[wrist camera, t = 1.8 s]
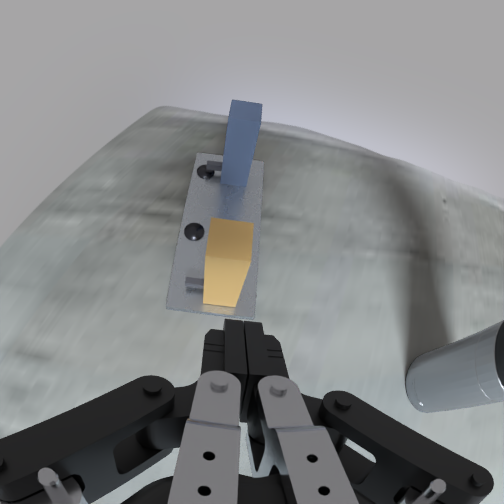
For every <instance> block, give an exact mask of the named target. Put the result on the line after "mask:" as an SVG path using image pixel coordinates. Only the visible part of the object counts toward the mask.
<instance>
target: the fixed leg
mask: <svg viewBox="0 0 504 504" xmlns="http://www.w3.org/2000/svg"><path fill="white" fill-rule="evenodd" d="M261 115H262V104H259V103H252V102H246V101H239V100H232V102H231V107H230V113H229V118H228V125H227V133H226V140H225V148H224V156H223V162H216V161H208V160H207V166H206V169H207V170H215V171H222V172H221V180H220V184H228V185H235V186H242V187H246V186H247V181H248V177H249V173H250V168H251V164H252V159H253V155H254V151H255V146H256V142H257V137H258V133H259V129H260V125H261Z"/></svg>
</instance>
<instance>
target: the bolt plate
mask: <svg viewBox="0 0 504 504" xmlns="http://www.w3.org/2000/svg"><path fill="white" fill-rule="evenodd" d="M207 160H208V161H216V162H223V155H215V154H207V153H198V152H197V156H196V160H195V164H194V168H193V173H192V177H191V181H190V186H189V190H188V195H187V199H186V204H185V208H184V213H183V218H182V222H181V227H180V232H179V237H178V242H177V247H176V253H175V258H174V263H173V269H172V274H171V280H170V286H169V291H168V297H167V303H166V308H167V309H170V310H177V311H184V312H192V313H199V314H207V315H215V316H224V317H233V318H242V319H251V320H254V318H255V304H256V288H257V272H258V256H259V239H260V223H261V206H262V189H263V171H264V161H258V160H252V164H251V168H250V173H249V177H248V181H247V186H246V187H242V186H235V185H228V184H220V180H221V172H222V171H215V170H207V169H206V166H207ZM211 217H212V218H219V219H227V220H235V221H242V222H249V223H254V228H253V242H252V256H251V263H250V266H249V269H248V272H247V275H246V278H245V281H244V284H243V287H242V289H241V292H240V295H239V298H238V301H237V304H236V307H229V306H220V305H212V304H204V303H203V292H204V289H201V288H193V287H186V286H185V279H186V277H192V278H200V279H204V271H205V255H206V248H207V241H208V234H209V228H210V221H211Z"/></svg>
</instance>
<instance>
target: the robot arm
mask: <svg viewBox="0 0 504 504" xmlns="http://www.w3.org/2000/svg"><path fill="white" fill-rule="evenodd" d="M406 390H407V395H408V397H409V400H410V402H411V403H412V405H413V406H414V407H415V408H416V409H418V410H419V411H421V412H426V413H429V412H439V411H448V410H455V409H462V408H468V407H474V406H480V405H486V404H491V403H496V402H500V401H504V320H503V321H501V322H499V323H497V324H495V325H492V326H490V327H488V328H486V329H484V330H482V331H480V332H477V333H475V334H473V335H470V336H468V337H466V338H463V339H461V340H458V341H456V342H453V343H451V344H448V345H446V346H443V347H441V348H438V349H435V350H433V351H430V352H427V353H425V354H422V355H420V356H419V357H417V358H416V359H415V360H414V361H413V363H412V364H411V366H410V368H409V370H408V373H407V378H406ZM239 419H240V422H245V423H247V425H248V430H247V434H246V444H247V450H248V455H249V461H250V466H251V472H252V477H249V476H245V475H241V474H239V454H240V433H241V428H240V426H239ZM347 439H350V440H351V441H353V442H354V443H356V444H357V445H359V446H361V447H362V448H364V449H365V450H367V451H368V452H370V453H371V454H373V455H374V457H375V459H376V463H374V462H372V461H370V460H368V459H367V458H365V457H364V456H362V455H361V454H359V453H358V452H356V451H355V450H353V449H351V448H350V447H348V446H347V445H345V443H346V441H347ZM179 447H180V450H179V454H178V459H177V463H176V467H175V472H174V476H170V477H166V478H162V479H159V480H157V481H154V482H152V483H150V484H148V485H146V486H145V487H143V488H142V489H141V490H139V491H138V492H136V493H135V494H134V495H132V496H131V497H129V498H128V499H126V500H125V501H124V502H122V503H121V504H479V503H480V502H481V501H482V500H483V499H484V498H485V497H486V496H487V495H488V494H489V493H490V492H491V491H492V489H493V486H494V481H493V478H492V475H491V474H490V473H489V471H488V470H486V469H485V468H484V467H482V466H480V465H478V464H476V463H474V462H472V461H470V460H468V459H466V458H464V457H462V456H460V455H458V454H456V453H454V452H452V451H450V450H449V449H447V448H445V447H443V446H441V445H439V444H437V443H435V442H434V441H432V440H430V439H428V438H426V437H424V436H423V435H421V434H419V433H417V432H416V431H414V430H412V429H410V428H408V427H407V426H405V425H403V424H401V423H400V422H398V421H396V420H394V419H393V418H391V417H389V416H388V415H386V414H384V413H382V412H381V411H379V410H377V409H376V408H374V407H372V406H371V405H369V404H367V403H366V402H364V401H362V400H361V399H359V398H358V397H356V396H354V395H352V394H350V393H348V392H345V391H331V392H329V393H327V394H326V395H325V396H324V398H323V400H322V399H318V398H314V397H310V396H306V395H304V394H302V393H301V392H300V390H299V388H298V386H297V385H296V383H294V382H293V381H292V380H290V379H289V376H288V372H287V368H286V364H285V360H284V356H283V352H282V349H281V345H280V342H279V341H278V340H277V339H276V338H275V337H274V336H273V335H264V332H263V326H262V323H260V322H251V321H244V322H243V321H241V320H232V319H225V321H224V328H223V330H215V329H211V330H210V331H209V332H208V333H207V334H206V335H205V340H204V349H203V358H202V368H201V375H200V377H199V379H198V380H197V381H196V382H195V383H193V384H191V385H189V386H185V387H176V388H174V386H173V385H172V384H171V382H169V381H168V380H166V379H164V378H162V377H159V376H152V375H150V376H143V377H140V378H137V379H135V380H133V381H131V382H129V383H127V384H125V385H123V386H121V387H119V388H117V389H114V390H112V391H110V392H108V393H106V394H104V395H102V396H100V397H97V398H95V399H93V400H91V401H89V402H87V403H84V404H82V405H80V406H78V407H76V408H73V409H71V410H69V411H67V412H64V413H62V414H60V415H57V416H55V417H53V418H50V419H48V420H46V421H43V422H41V423H39V424H36V425H34V426H32V427H29V428H27V429H24V430H22V431H19V432H17V433H14V434H12V435H9V436H7V437H4V438H2V439H0V504H90V503H92V502H94V501H96V500H98V499H99V498H101V497H103V496H104V495H106V494H108V493H109V492H111V491H113V490H115V489H116V488H118V487H119V486H121V485H123V484H124V483H126V482H128V481H129V480H131V479H132V478H134V477H135V476H137V475H139V474H140V473H142V472H143V471H145V470H146V469H148V468H149V467H151V466H152V465H154V464H155V463H157V462H158V461H160V460H161V459H163V458H164V457H166V456H167V455H169V454H170V453H171V452H172V450H173V448H179Z"/></svg>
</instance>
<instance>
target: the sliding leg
mask: <svg viewBox="0 0 504 504" xmlns="http://www.w3.org/2000/svg"><path fill="white" fill-rule="evenodd" d="M253 228H254V223H249V222H242V221H235V220H227V219H219V218H212V217H211V221H210V228H209V234H208V241H207V248H206V255H205V271H204V279H200V278H192V277H186V279H185V286H186V287H193V288H201V289H204V292H203V303H204V304H212V305H220V306H229V307H236V304H237V301H238V298H239V295H240V292H241V289H242V287H243V284H244V281H245V278H246V275H247V272H248V269H249V266H250V263H251V256H252V242H253Z"/></svg>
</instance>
